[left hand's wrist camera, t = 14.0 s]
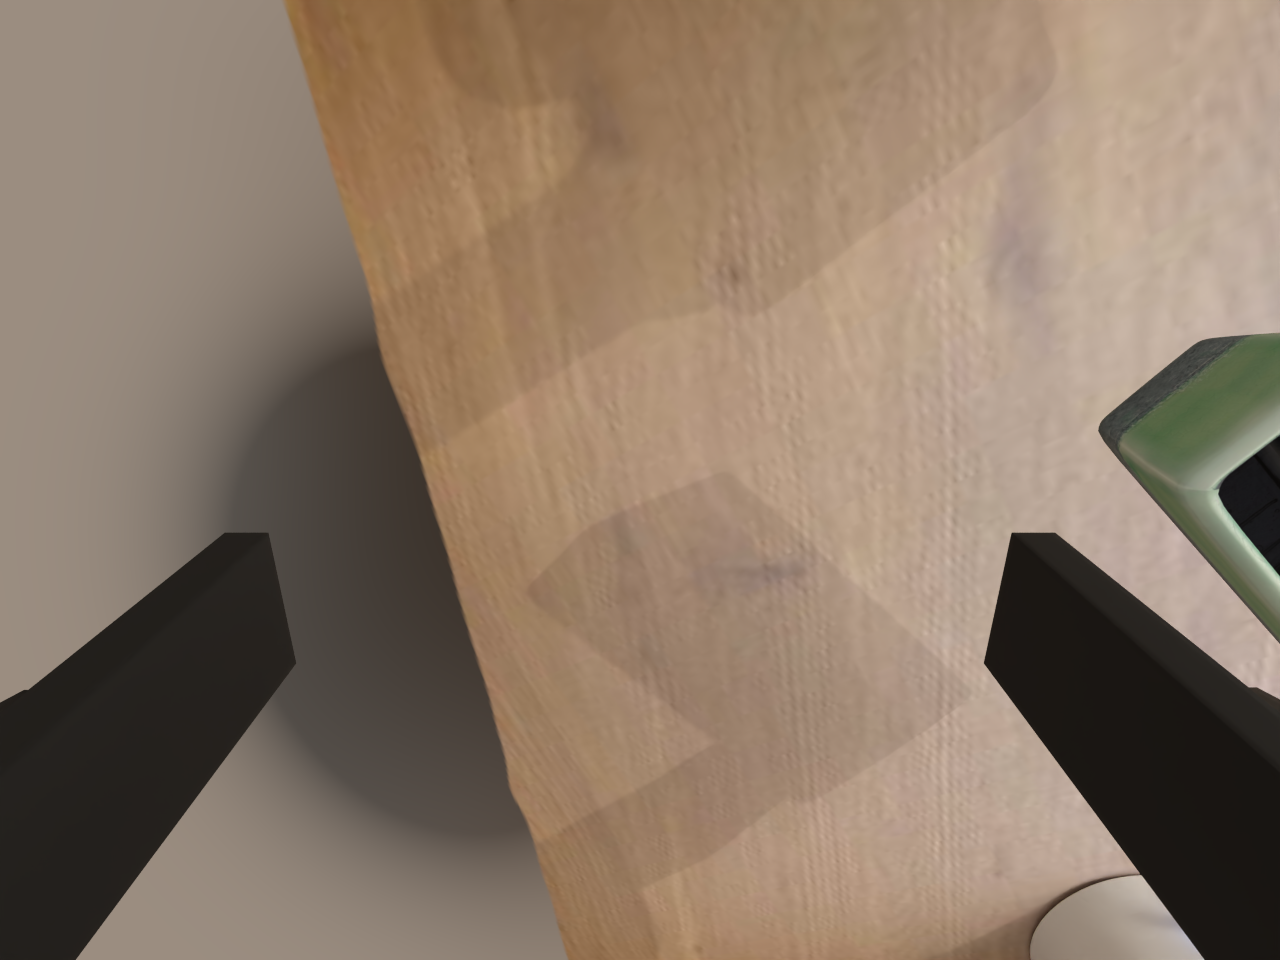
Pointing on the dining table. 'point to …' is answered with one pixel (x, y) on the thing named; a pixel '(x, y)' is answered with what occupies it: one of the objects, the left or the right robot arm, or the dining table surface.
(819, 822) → the dining table surface
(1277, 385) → the planter
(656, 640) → the dining table surface
